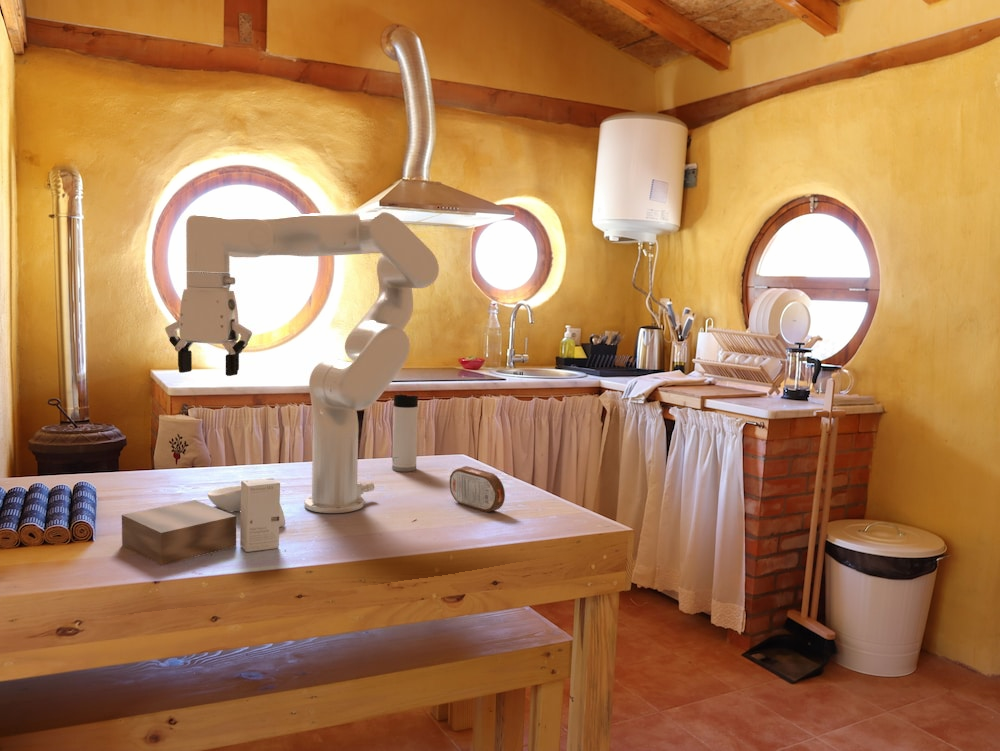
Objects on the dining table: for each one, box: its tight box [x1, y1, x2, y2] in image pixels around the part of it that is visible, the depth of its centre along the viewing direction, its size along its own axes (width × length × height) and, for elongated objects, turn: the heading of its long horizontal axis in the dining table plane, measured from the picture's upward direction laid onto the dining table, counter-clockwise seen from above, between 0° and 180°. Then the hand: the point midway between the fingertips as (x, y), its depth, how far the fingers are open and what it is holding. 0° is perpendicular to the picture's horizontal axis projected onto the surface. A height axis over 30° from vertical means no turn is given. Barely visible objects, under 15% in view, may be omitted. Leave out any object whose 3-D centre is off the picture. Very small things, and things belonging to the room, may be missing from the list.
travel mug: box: [391, 394, 419, 473], centre depth 206 cm, size 6×7×20 cm
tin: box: [449, 465, 506, 513], centre depth 174 cm, size 15×3×8 cm, turn 47°
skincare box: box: [239, 478, 281, 553], centre depth 143 cm, size 6×4×12 cm
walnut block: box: [121, 499, 237, 567], centre depth 142 cm, size 14×14×6 cm
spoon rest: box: [207, 485, 286, 528], centre depth 163 cm, size 24×12×7 cm, turn 42°
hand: (208, 373), depth 150 cm, fingers open, 9 cm apart
